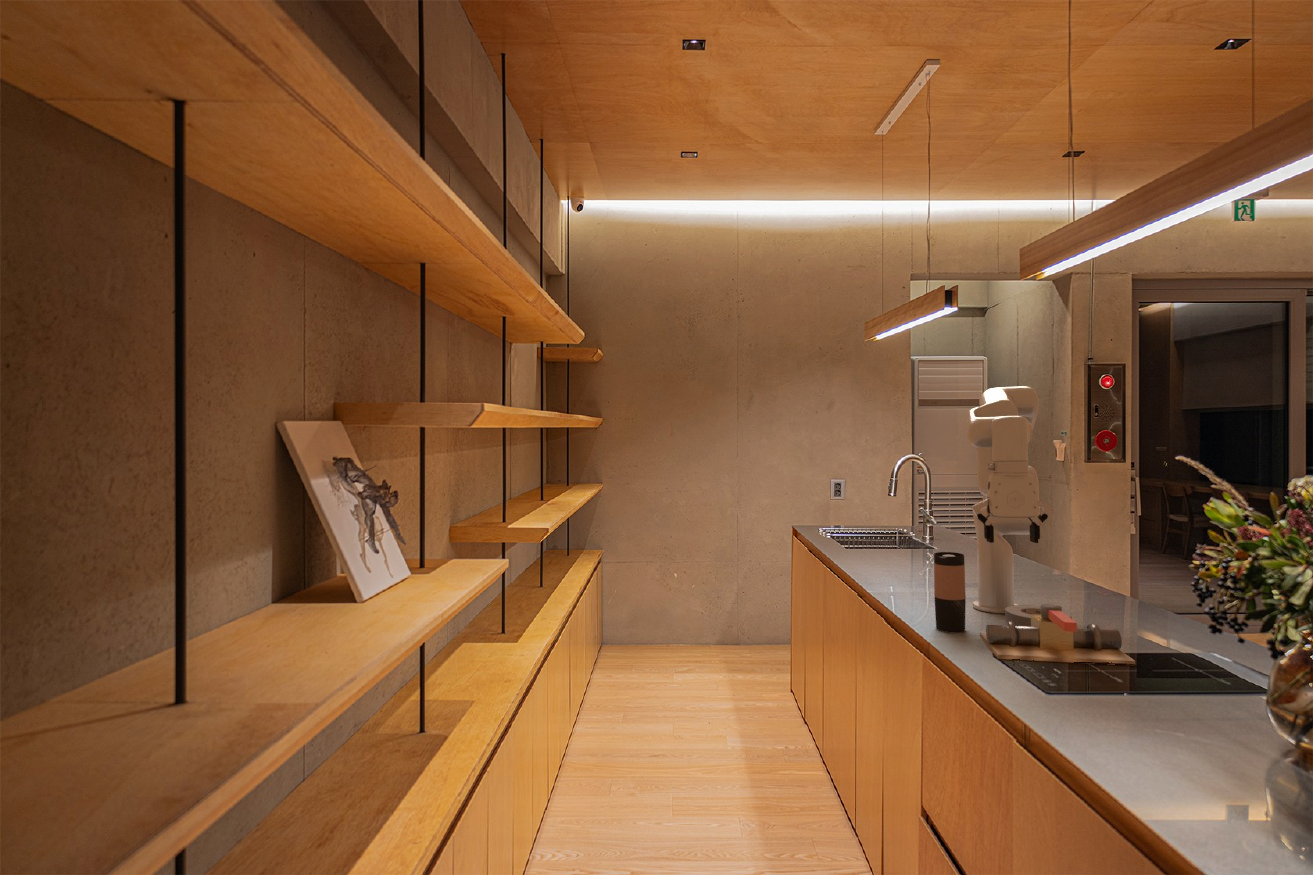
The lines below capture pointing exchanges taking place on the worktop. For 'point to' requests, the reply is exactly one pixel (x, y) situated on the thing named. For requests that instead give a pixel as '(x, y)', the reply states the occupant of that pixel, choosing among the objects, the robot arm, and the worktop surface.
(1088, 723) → the worktop surface
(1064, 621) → the lever
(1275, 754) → the worktop surface
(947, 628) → the travel mug
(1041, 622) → the valve
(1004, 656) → the mount board
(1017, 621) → the tape roll
